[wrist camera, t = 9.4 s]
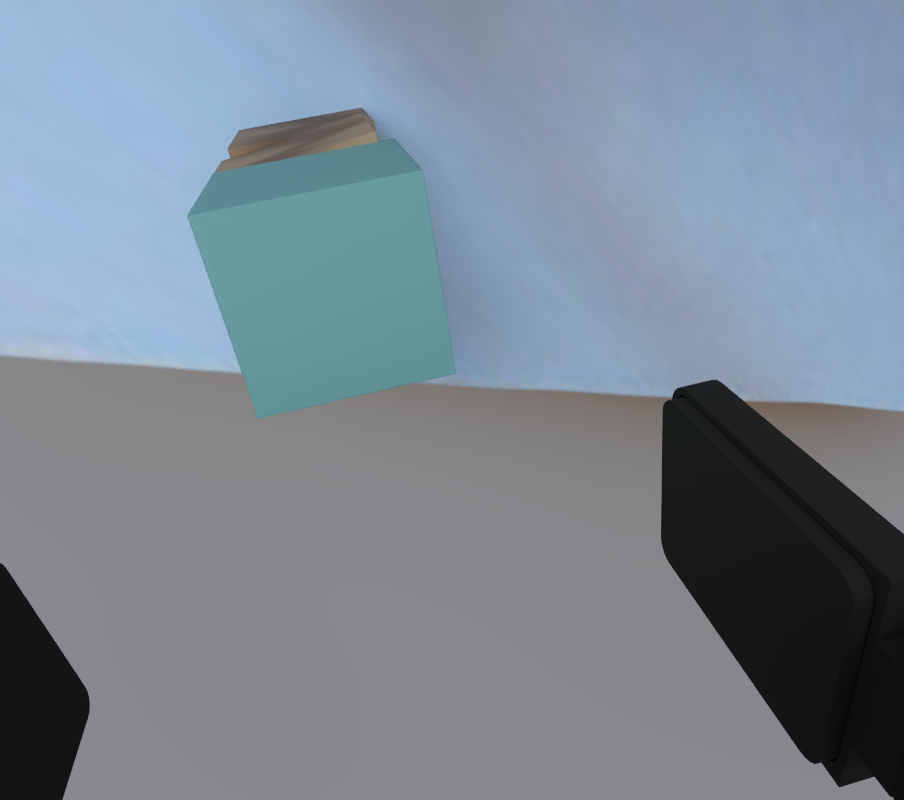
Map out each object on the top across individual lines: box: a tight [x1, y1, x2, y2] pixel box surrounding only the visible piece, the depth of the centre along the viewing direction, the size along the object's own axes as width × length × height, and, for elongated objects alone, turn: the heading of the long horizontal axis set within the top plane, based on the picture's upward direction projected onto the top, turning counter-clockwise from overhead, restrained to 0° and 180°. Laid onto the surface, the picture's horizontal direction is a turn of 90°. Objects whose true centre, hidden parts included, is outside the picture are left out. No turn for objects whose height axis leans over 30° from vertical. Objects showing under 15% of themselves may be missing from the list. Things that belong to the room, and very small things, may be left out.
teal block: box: [187, 139, 456, 418], centre depth 21 cm, size 6×6×6 cm
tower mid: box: [215, 113, 379, 172], centre depth 26 cm, size 6×6×6 cm
